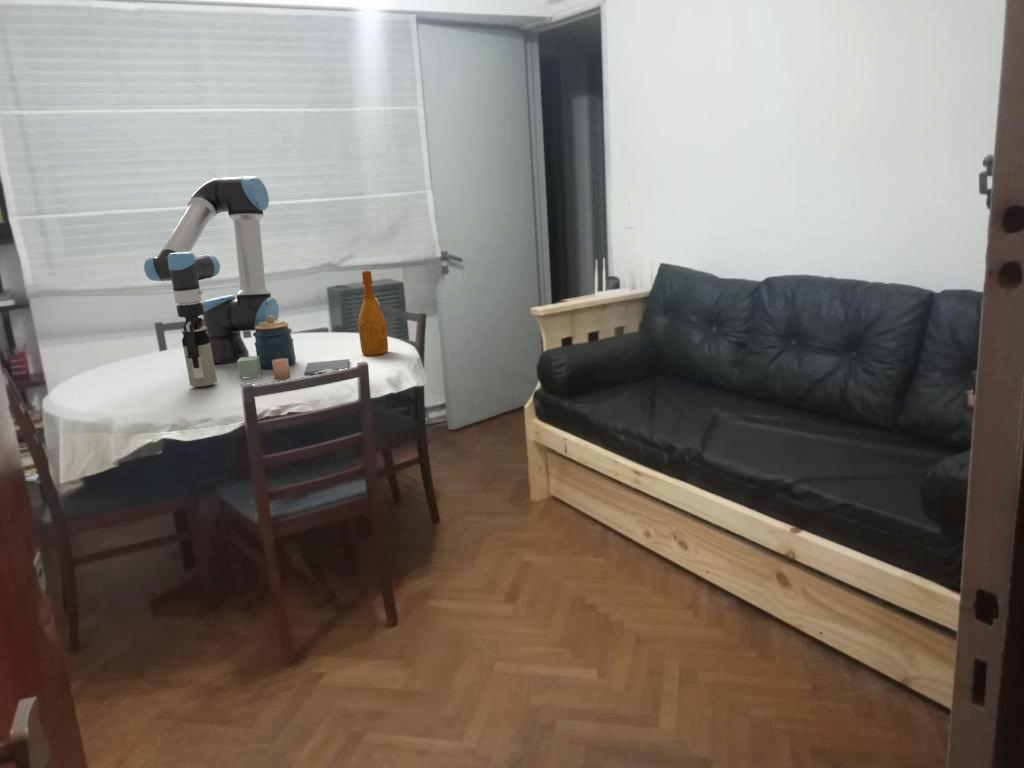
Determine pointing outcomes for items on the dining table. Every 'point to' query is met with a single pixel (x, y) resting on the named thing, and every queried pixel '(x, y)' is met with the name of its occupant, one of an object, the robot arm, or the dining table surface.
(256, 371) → the sage block
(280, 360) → the salmon block
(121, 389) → the dining table surface
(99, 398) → the dining table surface
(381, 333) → the wine bottle
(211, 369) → the travel mug
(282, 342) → the canister
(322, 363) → the mat
